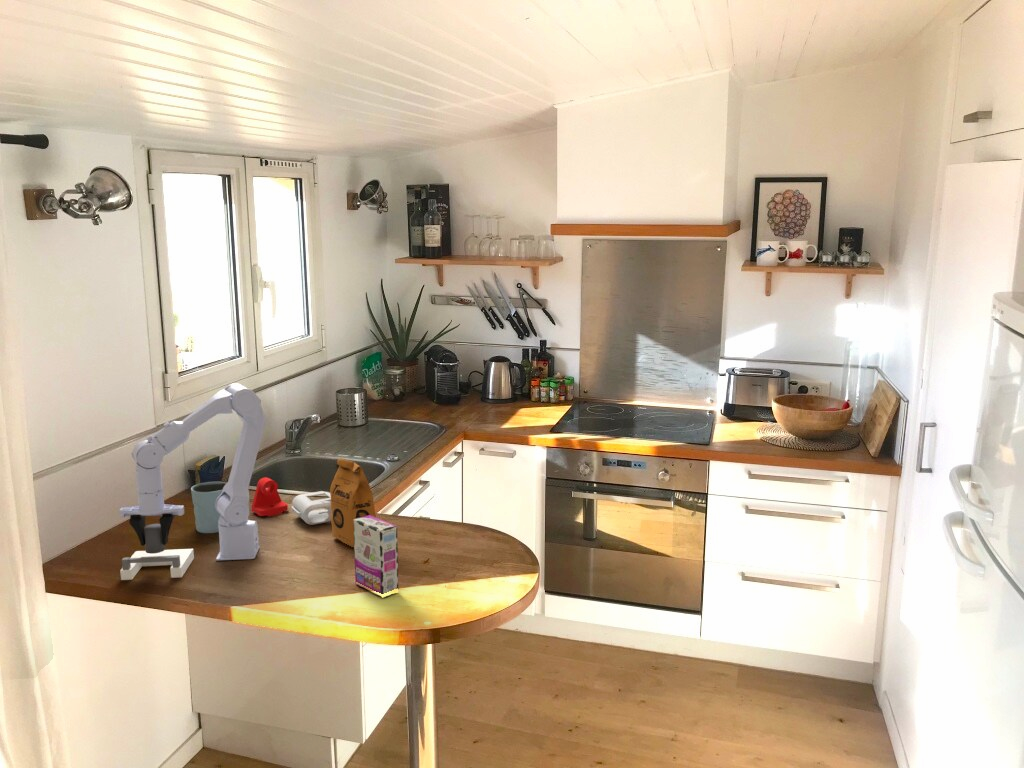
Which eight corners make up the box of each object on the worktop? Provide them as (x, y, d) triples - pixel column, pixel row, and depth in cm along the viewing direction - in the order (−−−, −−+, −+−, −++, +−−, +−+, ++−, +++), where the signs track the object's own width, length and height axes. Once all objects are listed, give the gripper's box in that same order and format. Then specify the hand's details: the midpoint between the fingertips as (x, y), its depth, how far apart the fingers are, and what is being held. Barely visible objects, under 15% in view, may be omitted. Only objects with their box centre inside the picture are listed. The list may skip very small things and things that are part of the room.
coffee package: (348, 552, 220) (344, 471, 216) (327, 538, 230) (324, 460, 226) (382, 543, 226) (379, 464, 222) (360, 530, 236) (358, 454, 232)
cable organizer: (344, 500, 241) (329, 489, 251) (301, 508, 234) (288, 496, 244) (344, 523, 242) (330, 511, 252) (302, 530, 235) (289, 518, 245)
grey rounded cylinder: (161, 553, 205) (160, 529, 204) (143, 553, 205) (141, 530, 204) (167, 546, 210) (165, 523, 209) (149, 547, 209) (147, 524, 208)
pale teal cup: (186, 531, 235) (182, 490, 232) (209, 519, 244) (207, 479, 242) (216, 535, 231) (213, 493, 229) (239, 523, 241) (237, 483, 239)
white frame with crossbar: (194, 557, 216) (192, 538, 215) (181, 577, 205) (180, 557, 204) (136, 560, 215) (135, 541, 214) (121, 580, 203) (119, 560, 202)
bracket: (261, 518, 245) (259, 485, 243) (251, 513, 250) (250, 480, 248) (289, 511, 251) (287, 479, 249) (279, 506, 255) (277, 474, 253)
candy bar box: (400, 592, 196) (398, 525, 193) (382, 599, 193) (380, 531, 190) (371, 578, 204) (369, 513, 201) (354, 584, 201) (352, 518, 198)
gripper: (185, 484, 209) (189, 536, 212) (124, 486, 207) (128, 538, 210) (178, 493, 202) (182, 547, 205) (114, 495, 200) (119, 549, 203)
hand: (154, 543), depth 207 cm, fingers closed on grey rounded cylinder, 4 cm apart
